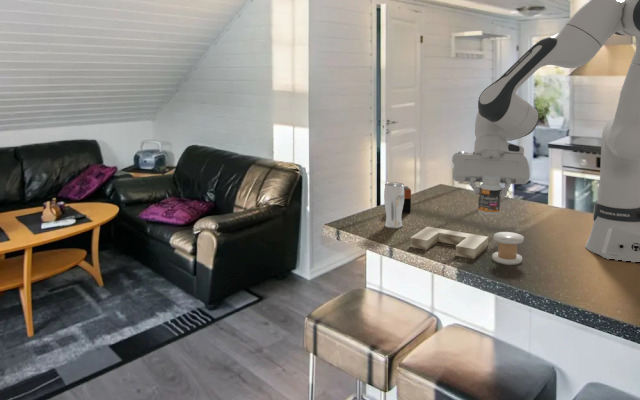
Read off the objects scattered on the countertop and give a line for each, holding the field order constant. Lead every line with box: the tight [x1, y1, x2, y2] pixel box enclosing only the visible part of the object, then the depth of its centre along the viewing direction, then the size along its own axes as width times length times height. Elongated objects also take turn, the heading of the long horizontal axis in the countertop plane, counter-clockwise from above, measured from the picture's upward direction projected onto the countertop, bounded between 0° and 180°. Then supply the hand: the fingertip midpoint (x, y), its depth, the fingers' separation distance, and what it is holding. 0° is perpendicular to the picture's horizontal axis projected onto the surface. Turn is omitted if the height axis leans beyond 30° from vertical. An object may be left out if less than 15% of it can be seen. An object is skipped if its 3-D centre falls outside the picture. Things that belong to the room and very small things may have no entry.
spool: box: [491, 231, 525, 266], centre depth 144 cm, size 8×8×7 cm
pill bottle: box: [477, 176, 502, 215], centre depth 138 cm, size 6×6×10 cm
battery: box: [402, 185, 412, 214], centre depth 194 cm, size 4×7×10 cm, turn 90°
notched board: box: [409, 226, 489, 260], centre depth 156 cm, size 20×13×3 cm, turn 55°
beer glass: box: [383, 181, 405, 230], centre depth 176 cm, size 7×7×15 cm
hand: (490, 194), depth 138 cm, fingers closed on pill bottle, 6 cm apart
